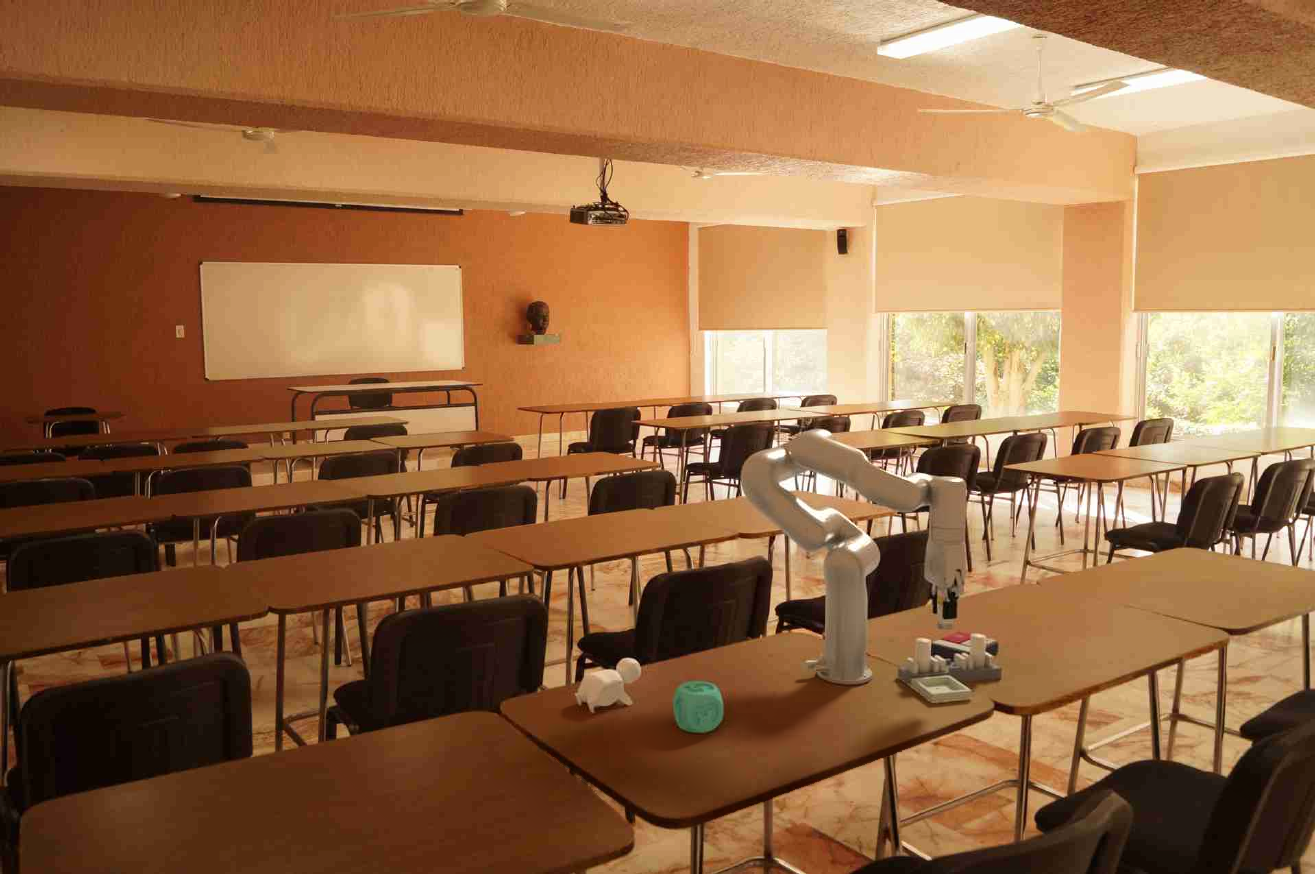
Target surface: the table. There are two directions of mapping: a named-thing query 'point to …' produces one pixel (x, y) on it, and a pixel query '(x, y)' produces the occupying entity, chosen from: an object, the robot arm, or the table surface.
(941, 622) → the fuse
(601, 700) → the white animal figurine
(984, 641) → the holder
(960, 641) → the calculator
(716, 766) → the table surface
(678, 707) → the decorative dice
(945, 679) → the tray
